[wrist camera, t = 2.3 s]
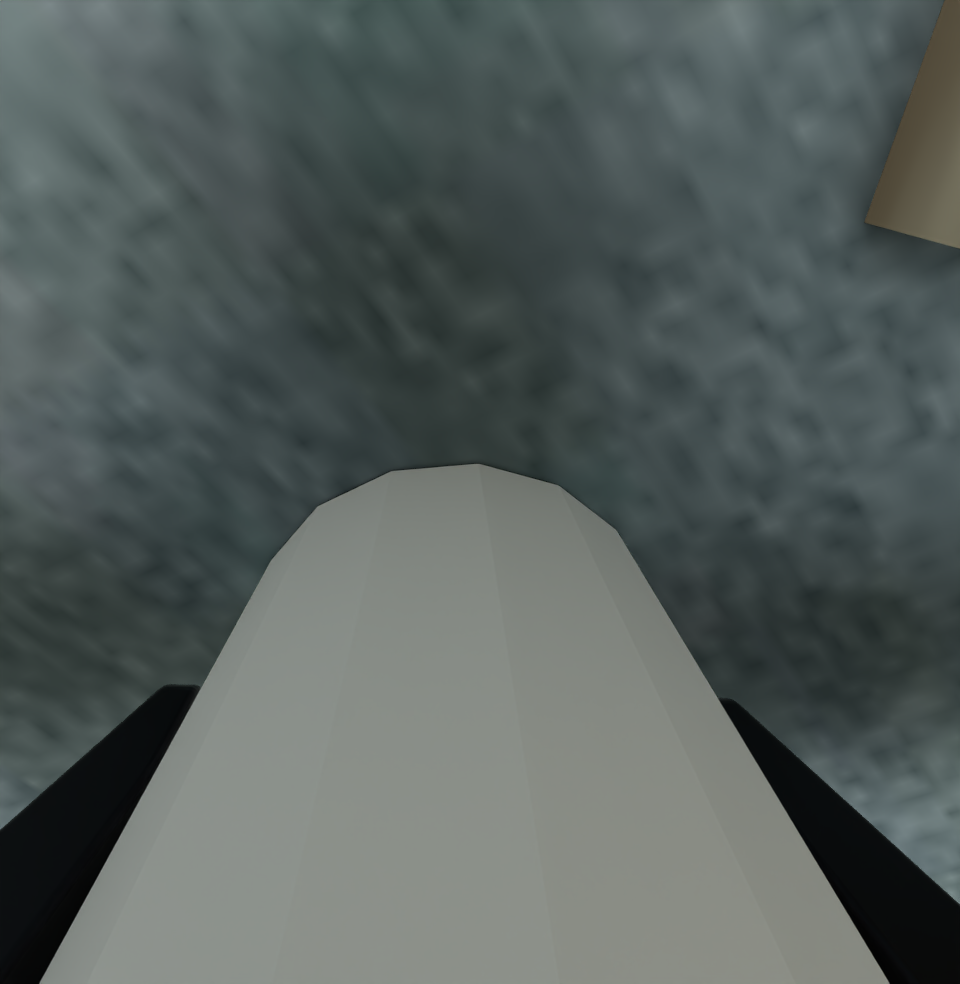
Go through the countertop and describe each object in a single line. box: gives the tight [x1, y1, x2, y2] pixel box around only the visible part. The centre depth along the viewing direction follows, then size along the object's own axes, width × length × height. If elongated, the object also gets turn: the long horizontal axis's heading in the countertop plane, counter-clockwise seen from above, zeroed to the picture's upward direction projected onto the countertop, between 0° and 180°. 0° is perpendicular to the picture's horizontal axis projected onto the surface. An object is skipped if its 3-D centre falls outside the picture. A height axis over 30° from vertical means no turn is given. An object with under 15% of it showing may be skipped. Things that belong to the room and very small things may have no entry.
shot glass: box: [39, 464, 890, 984], centre depth 7 cm, size 7×7×7 cm
